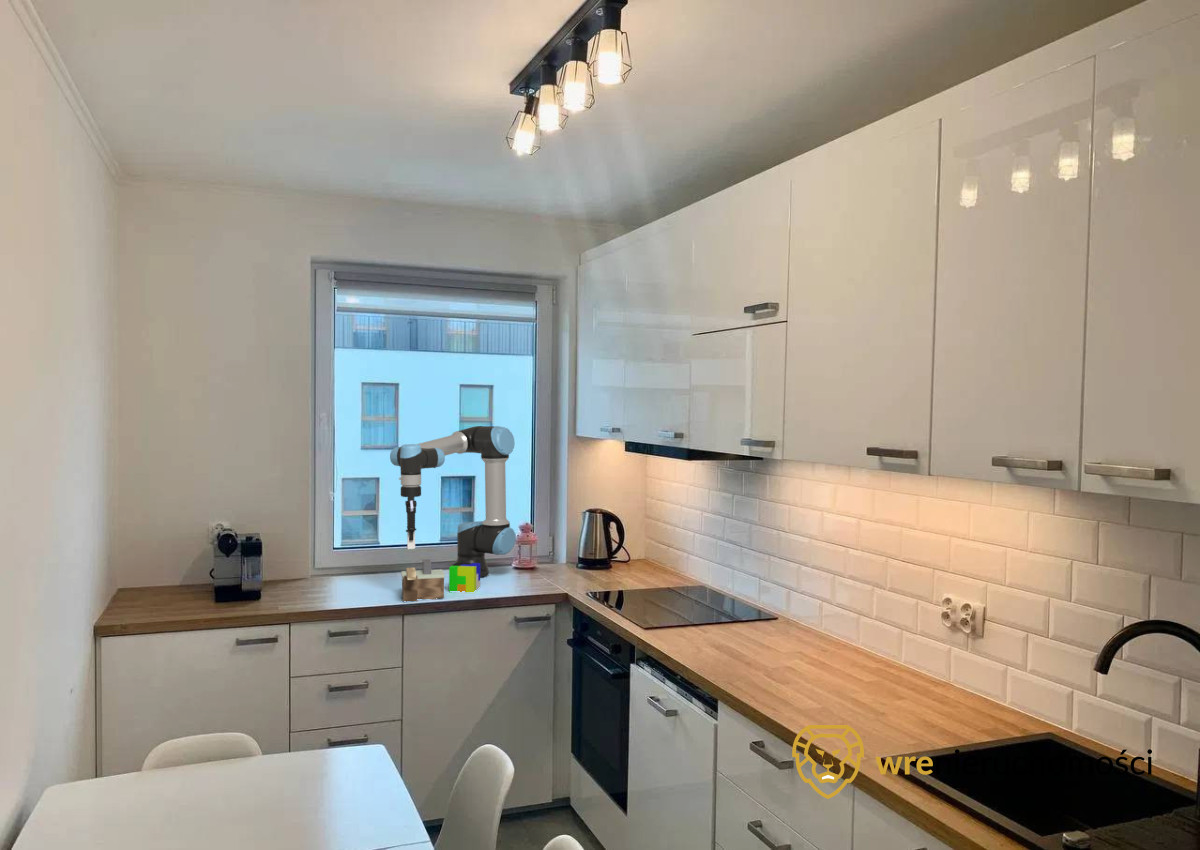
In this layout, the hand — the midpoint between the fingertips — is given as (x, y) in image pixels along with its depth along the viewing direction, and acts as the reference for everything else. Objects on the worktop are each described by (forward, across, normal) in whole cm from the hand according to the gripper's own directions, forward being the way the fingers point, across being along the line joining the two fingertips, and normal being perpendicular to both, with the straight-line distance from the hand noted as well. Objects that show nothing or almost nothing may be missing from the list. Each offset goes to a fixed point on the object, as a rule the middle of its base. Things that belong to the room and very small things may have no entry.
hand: (411, 548), depth 321 cm
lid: (+13, -6, +5) cm, 15 cm away
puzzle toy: (+20, -14, +22) cm, 33 cm away
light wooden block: (+10, +5, 0) cm, 11 cm away
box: (+20, -4, +5) cm, 21 cm away
